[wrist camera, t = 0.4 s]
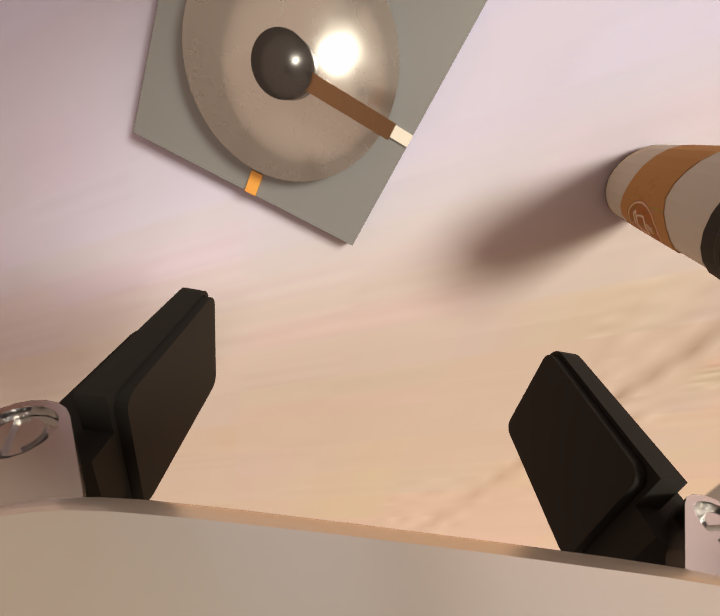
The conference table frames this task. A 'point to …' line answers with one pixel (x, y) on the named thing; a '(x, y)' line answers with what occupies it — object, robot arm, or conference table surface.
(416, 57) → the dial plate
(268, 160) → the dial
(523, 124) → the conference table surface
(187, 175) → the conference table surface
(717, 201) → the coffee cup
